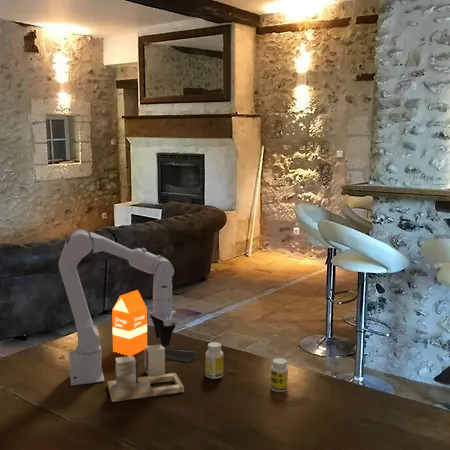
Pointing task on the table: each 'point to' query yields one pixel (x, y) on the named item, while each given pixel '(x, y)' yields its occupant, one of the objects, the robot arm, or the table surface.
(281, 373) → the supplement bottle
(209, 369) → the supplement bottle
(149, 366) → the off-white rectangular block
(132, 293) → the orange juice
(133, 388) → the beige piece
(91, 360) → the robot arm
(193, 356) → the phone
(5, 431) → the table surface
